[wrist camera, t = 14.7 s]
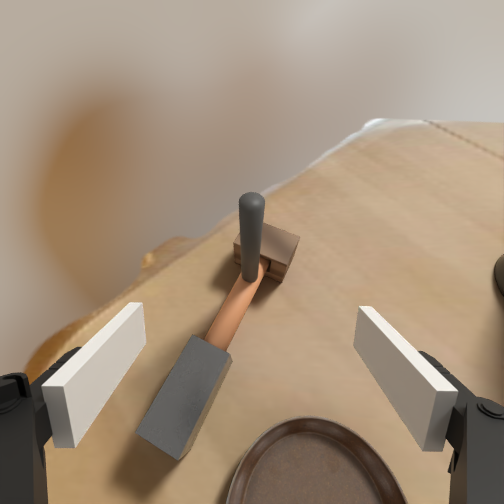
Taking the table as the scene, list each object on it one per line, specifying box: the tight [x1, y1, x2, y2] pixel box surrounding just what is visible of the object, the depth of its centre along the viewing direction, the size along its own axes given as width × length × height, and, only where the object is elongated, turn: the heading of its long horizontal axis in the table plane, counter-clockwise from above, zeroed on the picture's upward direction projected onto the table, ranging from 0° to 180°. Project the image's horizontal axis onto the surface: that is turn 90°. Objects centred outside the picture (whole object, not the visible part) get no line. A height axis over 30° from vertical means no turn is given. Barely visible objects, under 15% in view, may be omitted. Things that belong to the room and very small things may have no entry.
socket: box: [233, 223, 300, 283], centre depth 38 cm, size 5×8×6 cm, turn 65°
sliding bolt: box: [204, 192, 271, 352], centre depth 27 cm, size 19×3×17 cm, turn 155°
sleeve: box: [135, 334, 233, 460], centre depth 28 cm, size 10×5×6 cm, turn 155°
